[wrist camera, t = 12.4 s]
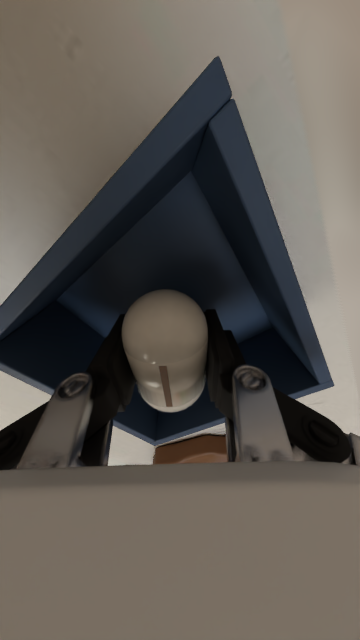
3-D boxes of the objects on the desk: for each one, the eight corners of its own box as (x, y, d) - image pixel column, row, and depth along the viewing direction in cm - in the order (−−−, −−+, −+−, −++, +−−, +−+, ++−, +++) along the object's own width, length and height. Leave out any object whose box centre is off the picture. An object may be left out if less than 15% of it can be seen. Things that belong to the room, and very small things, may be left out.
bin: (48, 294, 11) (-41, 351, 7) (193, 149, 8) (219, 49, 3) (161, 381, 17) (154, 446, 12) (278, 323, 13) (334, 386, 8)
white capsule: (125, 278, 8) (89, 323, 5) (203, 274, 8) (220, 316, 5) (147, 369, 12) (136, 429, 9) (201, 367, 12) (210, 426, 9)
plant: (133, 445, 26) (107, 579, 16) (261, 425, 22) (320, 578, 13) (175, 480, 36) (174, 573, 27) (267, 470, 33) (302, 572, 24)
